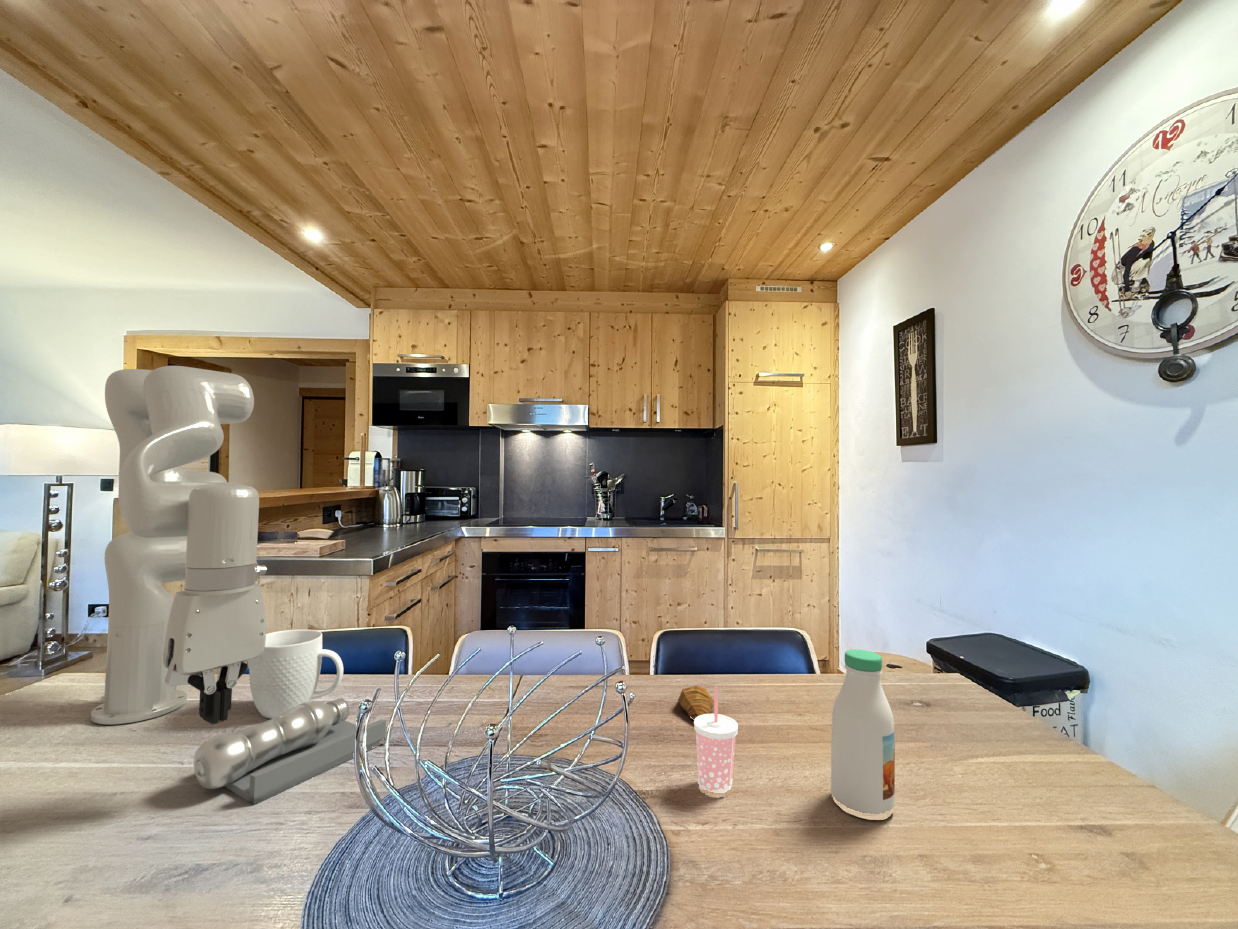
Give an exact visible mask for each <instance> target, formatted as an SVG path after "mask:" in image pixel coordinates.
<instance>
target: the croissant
mask: <svg viewBox="0 0 1238 929" xmlns="http://www.w3.org/2000/svg"><path fill="white" fill-rule="evenodd" d="M677 701H678V703H679V704H680V707H682V709H683V710H685V711H686V712H687V713H688V714H687V715H688V717H689V716H691V717H692V718H693V719H695V718H696V717H698V716H700V715H703V714H714V713H713V712H714V710H713V707H715V699H713V697H712V695H711V694H710V692H709V691H708V690H707V689H706V688H704V687H701V686H699V685H692V686H689V687H685V688H682V690H681V691H680V694H679V696H678V700H677ZM685 711H684V712H685ZM686 712H685V713H686Z"/></svg>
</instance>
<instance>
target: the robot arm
mask: <svg viewBox="0 0 1238 929" xmlns="http://www.w3.org/2000/svg"><path fill="white" fill-rule="evenodd" d="M104 402H105V408H106V411H107V412H106V413H107V415H108V418H109V420H110V422H111V424H112V427H113V430H114V432H115V434H116V437H117V440H118V444H119V445H118V446H119V464H118V465H119V468H118V495H117V496H118V510H119V512H120V515H121V516H122V518H123V520H124V522H125V526H126V527H127V528H128V529H129V531H130V532H126V533H121V534H120V535H117V536H116V537H114V538H112V539H111V540H110V541H109V542H108V544H107V545H106V547H105V551H104V556H103V557H104V566H105V572H106V581H107V588H108V589H107V591H108V618H107V619H108V623H107V624H108V625H107V640H106V641H107V644H106V645H107V646H106V659H105V660H106V662H105V677H104V678H105V680H104V700H103V703H100V704H99V705H97V706H96V707H94V708H93V709H92V710H91V712H90V720H91V722H93V723H95V724H98V725H123V724H131V723H136V722H140V721H145V720H150V719H153V718H157V717H160V716H162V715H166V714H168V713H171V712H173V711H175V710H177V709H179V708H181V707H182V706H183V705H185V703H186V702H187V698H188V697H187V694H188V693H186V692H185V691H184V690H181V689H177V687H178V686H179V687H180V686H181V687H182V686H191V687H192V688H193V687H194V688H195V689H196V690H197V691H199V705H198V706H199V707H198V714H199V717H200V718H201V719H202V720H203V721H205V722H207V723H209V724H211V725H216V724H218V723H219V722H224V721H228V719H229V718H228V717H229V711H230V710H231V708H232V698H233V694H232V693H233V688H234V687H236V686H237V682H238V680H239V679H240V678H241V677H242V676H243V674H244V673H245V672H247V670H248V669H249V670H250V668H252V667H254V666H256V665H258V664H260V663H261V662H262V661H263V660H264V658H263V651H264V648H265V640H266V634H267V630H266V629H267V627H266V610H265V609H266V608H265V603H264V598H263V593H262V588H261V585H260V584H257V583H256V582H258V577H259V576H263V575H266V574H267V573H266V572H267V567H266V565H265V564H262V565H260V564H259V562H257V560H258V559H257V558H258V555H257V554H258V552H257V551H258V539H259V538H258V535H259V516H260V515H259V512H260V511H259V510H260V495H259V492H258V490H257V489H256V488H254V487H253V486H250V485H249V486H248V485H244V484H241V483H237V482H228V481H227V479H226V478H225V476H223V475H222V474H220V473H217V472H214V471H207V470H206V471H205V470H204V471H203V470H202V471H201V470H185V469H183V467H182V466H186V465H188V464H189V465H190V464H192V463H195V462H198V461H201V460H203V459H204V460H205V459H206V458H208V457H210V456H212V455H213V454H215V453H216V452H217V451H219V449H220V448H221V447H222V445H223V443H224V438H225V436H224V435H225V434H224V431H223V428H222V425H230V424H231V425H233V424H240V423H244V422H245V421H247V420H248V419H249V418H250V416H251V415H252V412H253V410H254V407H255V397H254V392H253V389H252V386H251V385H250V383H249V382H248V381H247V380H246V379H245V378H244V377H243V376H241V375H239V374H235V373H231V372H225V371H224V372H223V371H217V370H211V369H203V368H196V367H191V366H182V365H165V366H160V367H157V368H155V369H144V368H141V369H139V368H125V369H124V368H123V369H119V370H116V371H113V372H112V373H111V374H109V375H108V377H107V379H106V381H105V386H104ZM180 581H184V590H182V591H177V592H176V593H175V595H173V594H171V593H170V592H168V591H167V590H166V589H165V588H164V587H163V585H164V584H169V583H173V582H180ZM215 669H217V670H218V673H217V677H216V676H215Z"/></svg>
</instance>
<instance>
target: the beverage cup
mask: <svg viewBox="0 0 1238 929" xmlns="http://www.w3.org/2000/svg"><path fill="white" fill-rule="evenodd" d="M713 707H714V710H713V712H714V713H712V714H703V715H700V716H698V717H696V718H695V719H694V721H693V725H694V726H693V727H694V728H693V729H694V731H695V737H696V740H695V741H696V743H695V744H696V762H697V764H696V765H697V766H696V767H697V785H698V784H699V785H700V787H702V788H703V789H704V790H708V791H710V792H714V793H725V792H727V791H728V790H730V789H731V787H732V788H733V777H734V765H735V763H734V762H735V751H736V749H735V748H736V739H737V738H736V737H737V735H738V734H739V733H738V732H739V731H738V730H739V724H738V722H737V721H736V720H735V719H734V718H733V717H729V716H727V715H724V714H720V713H718V711H719V686H718V685H716V686H714V706H713Z"/></svg>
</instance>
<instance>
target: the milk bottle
mask: <svg viewBox="0 0 1238 929" xmlns="http://www.w3.org/2000/svg"><path fill="white" fill-rule="evenodd" d="M844 664H845V665H844V668H845V670H846V671H845V672H846V673H845V677H844V681H843V683H842V685H841V688H840V690H839V691H838V693H837V695H836V697H835V700H834V702H833V707H832V717H831V741H830V742H831V744H830V748H831V749H830V751H831V752H830V753H831V754H830V756H831V757H830V794H831V793H832V795H833V797H835V799H836V800H837V801H838V802H840V803H841V804H843V805H845V806H846V807H847V808H850V809H853V810H855V811H859V812H862V813H870V814H872V813H873V814H880V813H885V812H886V811H890V810H891V809H892V808H893V807H894V808H895V791H896V790H895V786H896V785H895V780H896V779H895V774H896V773H895V768H896V766H895V765H896V761H895V760H896V759H895V756H896V754H895V753H896V750H895V747H896V745H895V743H896V737H895V721H894V715H893V712H892V709H891V706H890V703H889V701H888V698H887V697H886V694H885V692H884V689H883V686H882V682H881V675H882V674H883V670H882V669H883V658H882V656H881V655H880V654H878V653H876V652H873V651H870V650H866V649H848V650H846V651H845V652H844Z"/></svg>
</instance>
